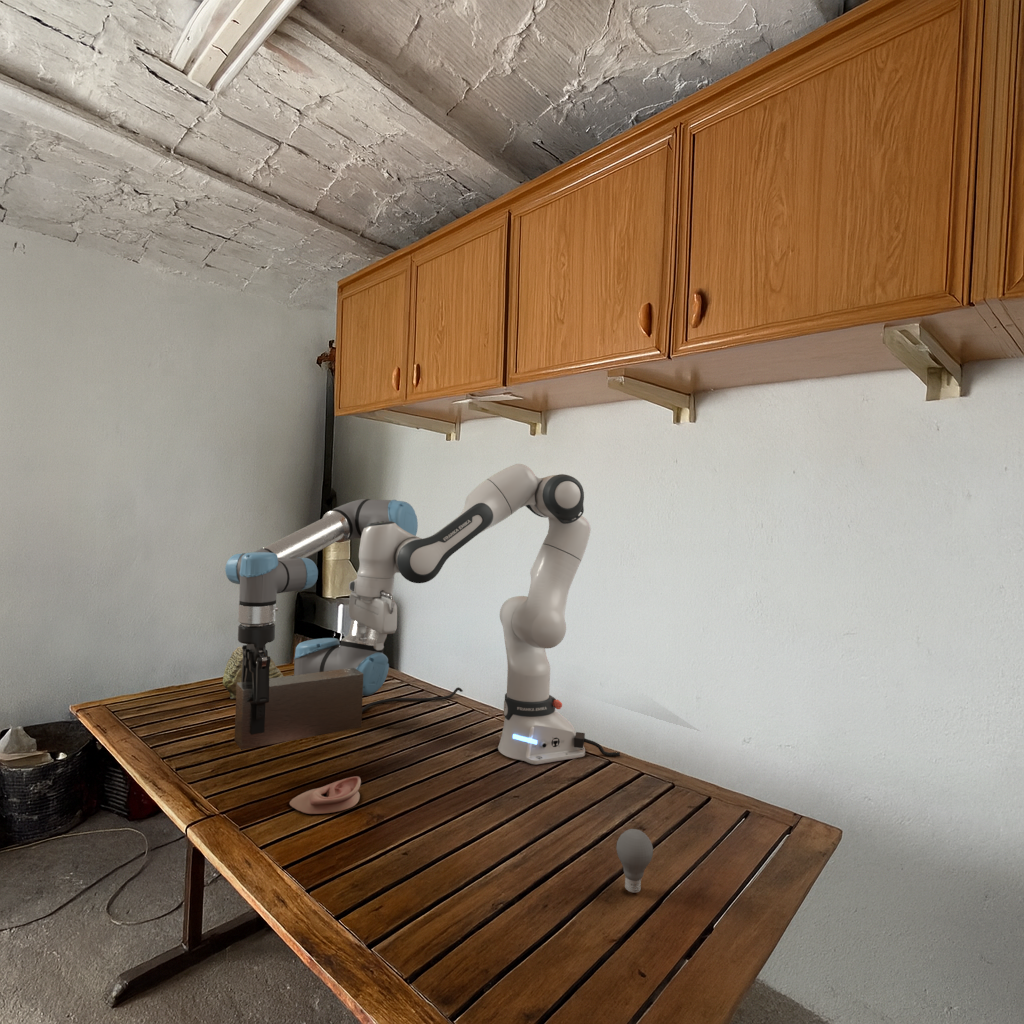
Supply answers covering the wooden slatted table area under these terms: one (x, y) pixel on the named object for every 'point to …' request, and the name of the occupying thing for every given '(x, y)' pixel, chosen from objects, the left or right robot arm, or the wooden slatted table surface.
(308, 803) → the anatomical model
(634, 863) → the light bulb
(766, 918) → the wooden slatted table surface
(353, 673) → the box
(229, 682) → the fossil
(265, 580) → the left robot arm
